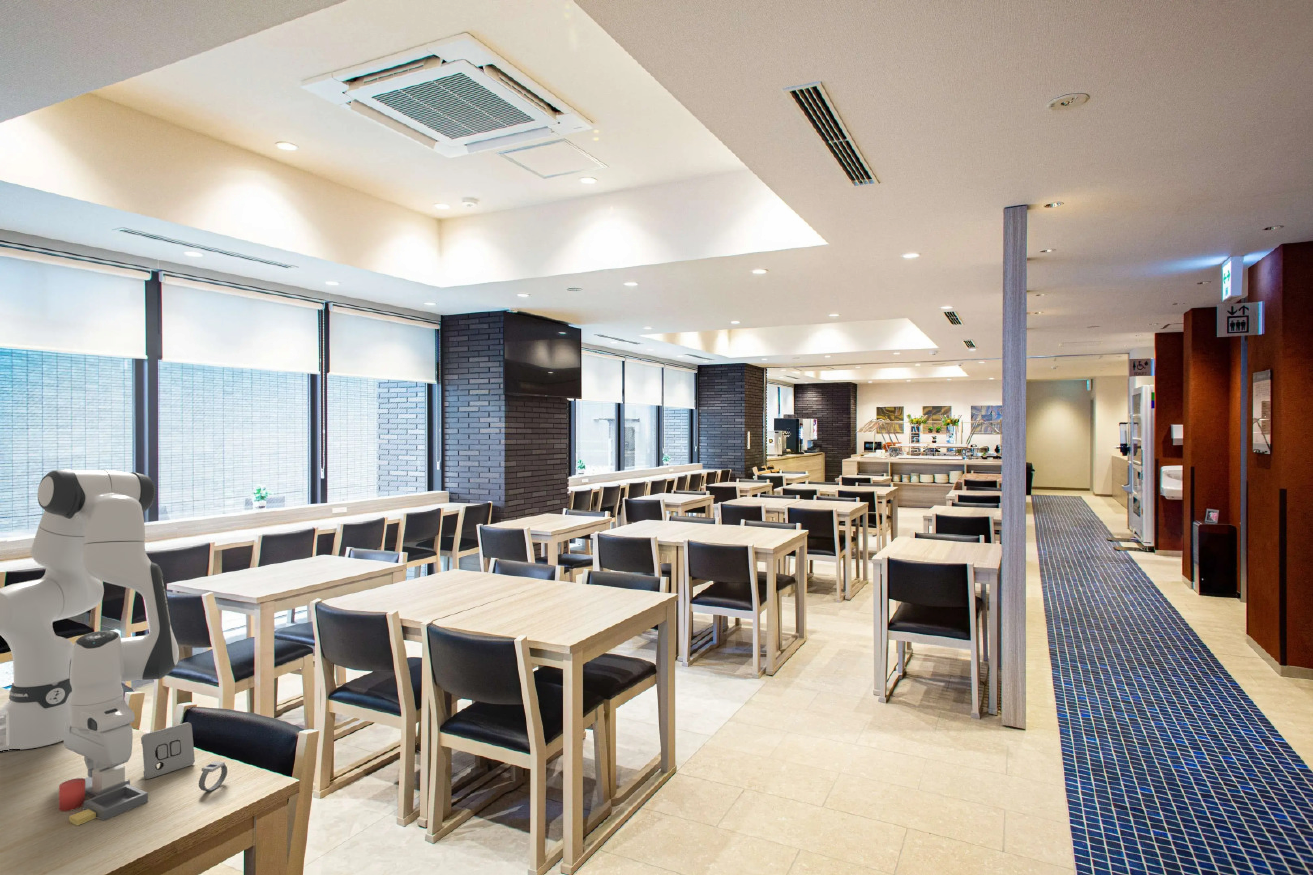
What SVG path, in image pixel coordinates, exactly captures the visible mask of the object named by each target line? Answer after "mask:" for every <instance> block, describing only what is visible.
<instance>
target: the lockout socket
mask: <svg viewBox="0 0 1313 875" xmlns="http://www.w3.org/2000/svg"><path fill="white" fill-rule="evenodd" d="M148 802H149V792H147V791H144V790H141V789H140V788H137V787H135V786H133V785H131V784H130V785H129V784H127V785H124V786H122V787H119V788H117V789H114V790H112V791H109V792H106V793H104V794H101V795H99V796H96V797H94V798H91V797H90V798H89V799H85V801H84V805H83V810H82V811H79V812H77V813H74V814H72V815H69V820H68V821H69V822H70V823H71V824H73V825H75V826H79V825H82V824H85V823H87V822H89V821H92V820H94V819H96V818H97V819H99V820H101V821H105V820H108V819H110V818H112V817H113V818H114V817H115V816H118V815H120V814H123V813H124V812H125V813H126V812H128V811H129V810H132V809H134V808H137V807H140V806H141V805H144V804H147V803H148Z"/></svg>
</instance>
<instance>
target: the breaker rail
mask: <svg viewBox="0 0 1313 875" xmlns="http://www.w3.org/2000/svg"><path fill="white" fill-rule="evenodd" d="M84 779H85V796H87V797H88V798H90V799H91V798H94V797H96V796H99V795H101V794H104V793H106V792H109V791H112V790H114V789H117V788H119V787H122V786H124V785H127V784H129V785H131V780H130V779H129V778H128V779H126V780H125V781H123V782H120V783H118V784H115V785H113V786H110V787H107V788H105V789H102V790H100V791H98V794H97V793H95V792H93V791H92V778H91V777H89V776H87V777H84Z"/></svg>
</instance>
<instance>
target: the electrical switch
mask: <svg viewBox="0 0 1313 875" xmlns="http://www.w3.org/2000/svg"><path fill="white" fill-rule="evenodd" d="M193 736H194V735H193V726H192V723H191V722H183V723H181V724H176V725H172V726H169V727H165V728H163V729H162V728H161V729H159V730H154V731H150V732H146V733H144V734H142V736H141V737H140V741H141V746H142V760H143V778H144V779H146V780H149V779H152V778H156V777H158V776H161V775H165V774H168V773H171V772H173V771H178V770H181V769H184V768H186V767H190V766H192V765H194V764H195V762H196V758H195V748H194V747H195V746H194V738H193ZM157 765H159V767H158V766H157Z"/></svg>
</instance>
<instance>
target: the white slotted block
mask: <svg viewBox="0 0 1313 875" xmlns="http://www.w3.org/2000/svg"><path fill="white" fill-rule="evenodd" d="M125 779H126V766H124V765H123V764H121V765H118V766H115V767H112V768H110V767H107V766H103V767H100V768H97V769H95V770H92V791H93V792H95V793H97V794H98V791H100V790H102V789H105V788H107V787H110V786H113V785H115V784H118V783H120V782H123V781H126V780H125Z"/></svg>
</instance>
